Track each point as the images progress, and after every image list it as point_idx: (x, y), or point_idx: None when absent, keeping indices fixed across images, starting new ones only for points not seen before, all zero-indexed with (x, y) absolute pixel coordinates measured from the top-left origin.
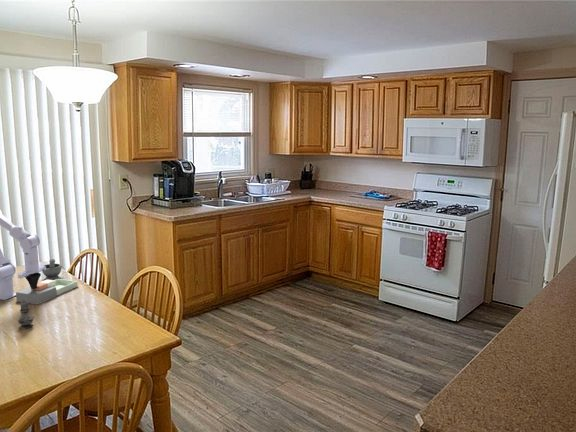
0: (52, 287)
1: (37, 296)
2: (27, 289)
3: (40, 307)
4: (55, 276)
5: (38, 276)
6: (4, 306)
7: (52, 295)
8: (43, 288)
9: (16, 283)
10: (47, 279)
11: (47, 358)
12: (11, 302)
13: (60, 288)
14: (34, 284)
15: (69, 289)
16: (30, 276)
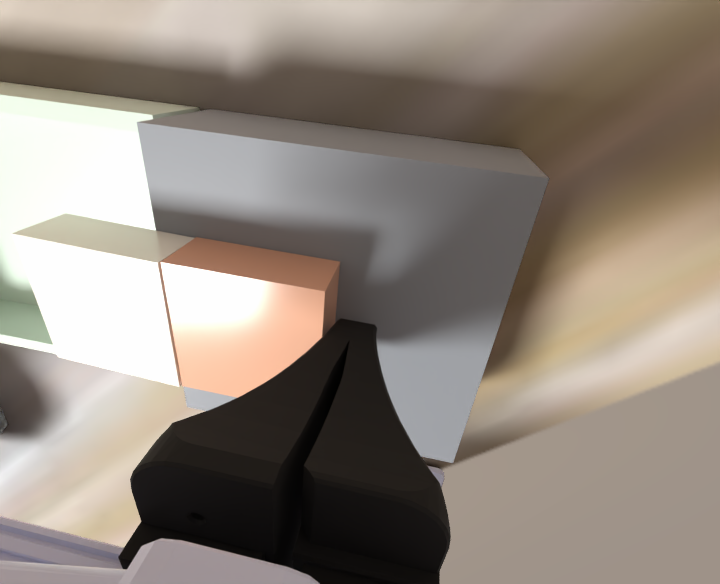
0: (169, 168)
1: (523, 168)
2: None
3: (637, 17)
4: None
5: (254, 432)
6: (587, 412)
7: (260, 119)
8: (267, 253)
9: None
10: (3, 418)
11: None
12: (482, 410)
13: (89, 105)
14: (374, 364)
15: (3, 84)
16: (424, 569)
